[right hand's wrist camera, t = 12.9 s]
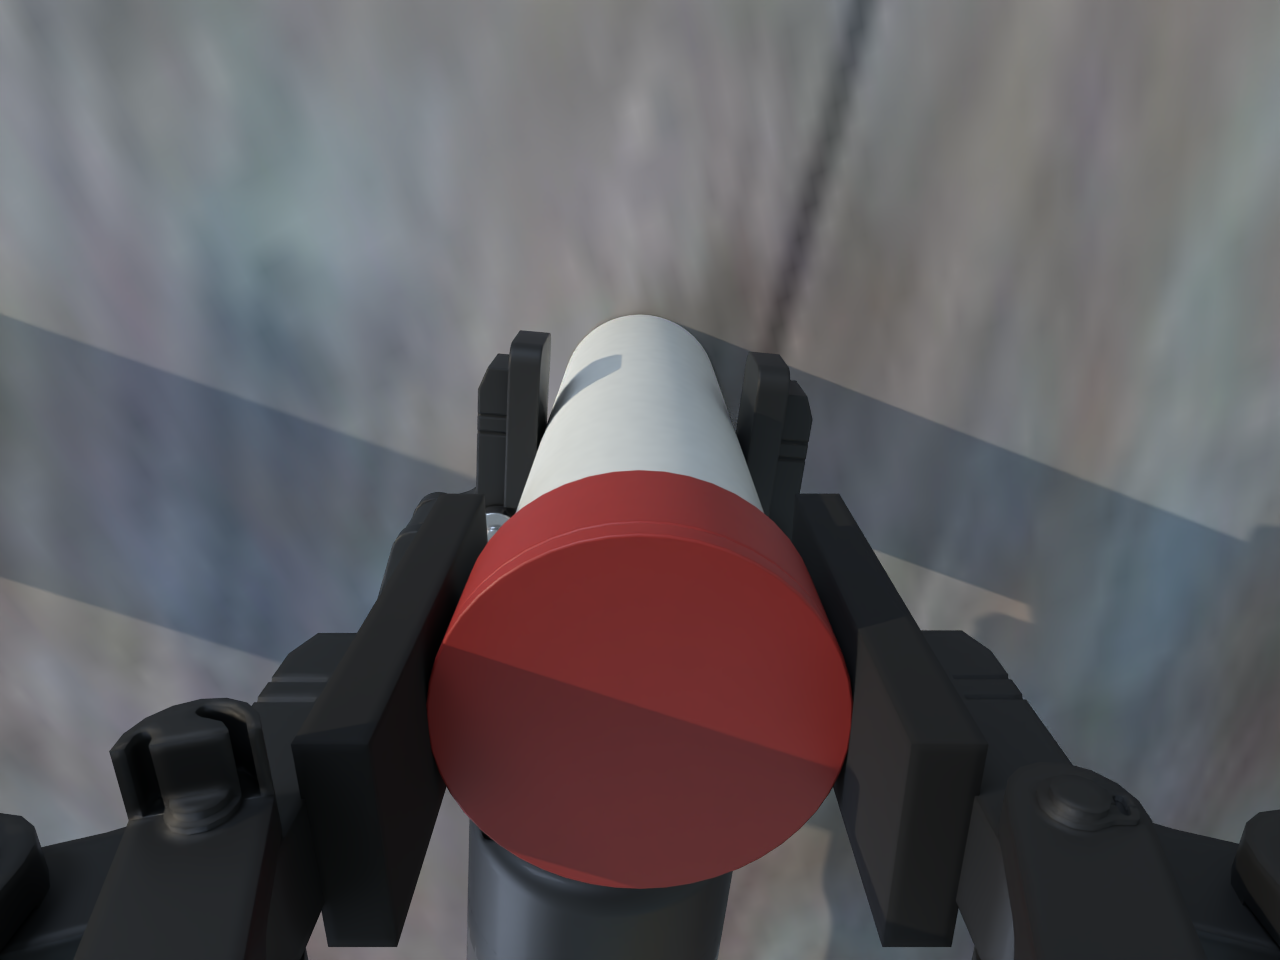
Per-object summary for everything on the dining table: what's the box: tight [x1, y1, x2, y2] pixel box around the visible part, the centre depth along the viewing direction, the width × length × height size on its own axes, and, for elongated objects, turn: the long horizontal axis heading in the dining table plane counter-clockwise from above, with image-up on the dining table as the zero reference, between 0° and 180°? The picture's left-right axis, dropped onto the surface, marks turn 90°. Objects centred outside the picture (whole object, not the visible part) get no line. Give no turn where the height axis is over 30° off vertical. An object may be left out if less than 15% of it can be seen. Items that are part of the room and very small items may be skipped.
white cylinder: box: [515, 315, 764, 514], centre depth 18 cm, size 5×5×16 cm
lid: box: [426, 470, 853, 889], centre depth 11 cm, size 5×5×2 cm
